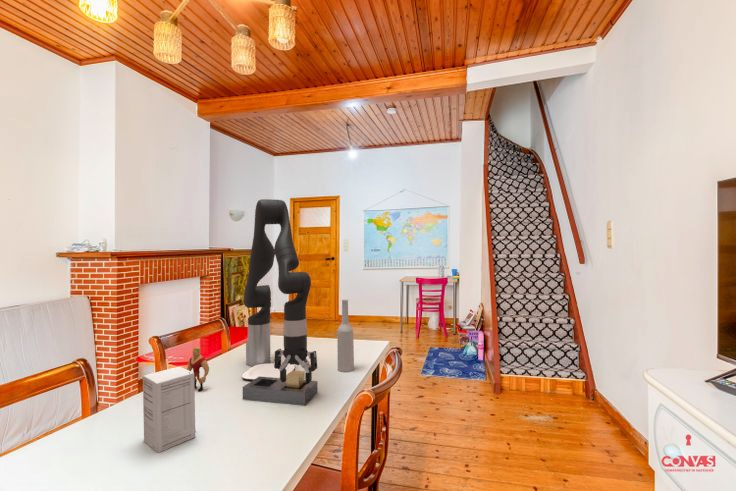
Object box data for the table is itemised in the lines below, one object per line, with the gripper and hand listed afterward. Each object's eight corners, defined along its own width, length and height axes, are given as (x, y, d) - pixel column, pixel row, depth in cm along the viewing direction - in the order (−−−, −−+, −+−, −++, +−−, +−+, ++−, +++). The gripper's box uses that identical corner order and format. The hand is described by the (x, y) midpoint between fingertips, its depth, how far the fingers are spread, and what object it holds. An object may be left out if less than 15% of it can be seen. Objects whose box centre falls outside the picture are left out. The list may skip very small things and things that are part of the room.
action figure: (181, 389, 125) (181, 346, 125) (190, 386, 129) (189, 344, 129) (202, 393, 122) (202, 349, 122) (210, 389, 125) (210, 346, 126)
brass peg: (286, 399, 115) (286, 375, 116) (292, 394, 120) (292, 370, 120) (299, 401, 114) (298, 376, 114) (304, 395, 119) (304, 371, 119)
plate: (298, 367, 149) (298, 363, 149) (284, 383, 131) (284, 379, 131) (256, 366, 150) (256, 362, 150) (236, 382, 132) (236, 378, 132)
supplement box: (181, 426, 99) (180, 365, 99) (196, 437, 93) (196, 372, 93) (142, 441, 91) (141, 374, 91) (156, 453, 85) (156, 383, 86)
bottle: (353, 372, 141) (352, 300, 141) (336, 372, 141) (335, 301, 141) (354, 366, 148) (353, 298, 148) (338, 366, 148) (337, 298, 148)
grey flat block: (242, 399, 116) (242, 387, 116) (259, 387, 126) (259, 376, 126) (305, 405, 111) (305, 392, 111) (317, 393, 120) (317, 381, 121)
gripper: (269, 334, 115) (270, 385, 115) (310, 336, 112) (311, 388, 112) (281, 329, 123) (281, 377, 122) (319, 331, 119) (320, 380, 119)
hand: (295, 382), depth 117 cm, fingers open, 8 cm apart
